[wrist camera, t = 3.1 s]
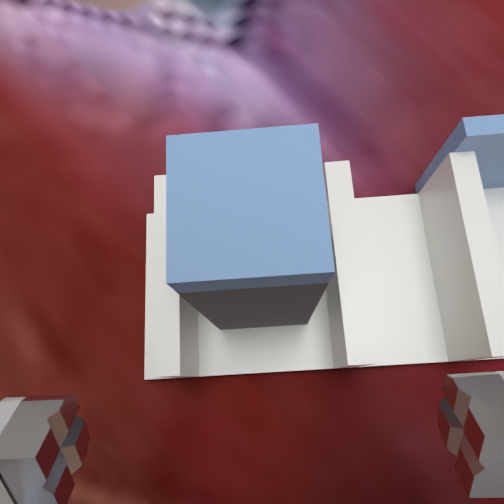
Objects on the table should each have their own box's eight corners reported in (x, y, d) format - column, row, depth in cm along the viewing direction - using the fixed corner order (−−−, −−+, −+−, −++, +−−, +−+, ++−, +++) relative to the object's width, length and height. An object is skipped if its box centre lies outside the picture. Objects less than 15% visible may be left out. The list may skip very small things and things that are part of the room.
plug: (220, 330, 20) (166, 283, 10) (217, 247, 21) (166, 136, 11) (307, 324, 20) (334, 272, 10) (299, 241, 21) (317, 123, 11)
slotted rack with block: (149, 379, 20) (98, 379, 14) (151, 205, 23) (108, 146, 17) (657, 349, 19) (818, 336, 14) (600, 171, 22) (716, 96, 16)
